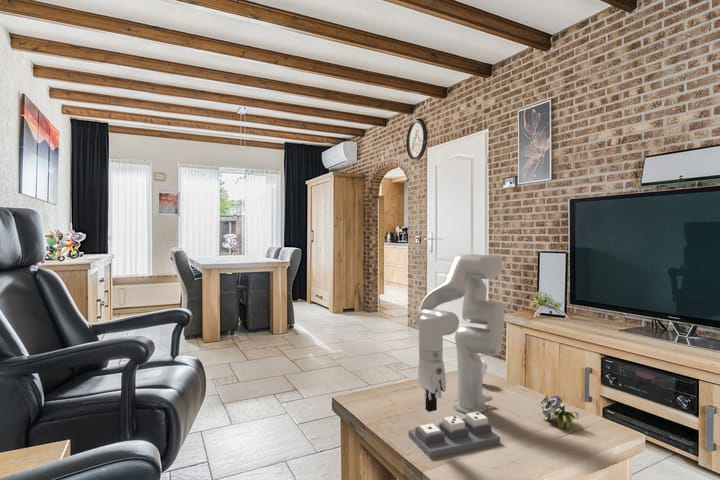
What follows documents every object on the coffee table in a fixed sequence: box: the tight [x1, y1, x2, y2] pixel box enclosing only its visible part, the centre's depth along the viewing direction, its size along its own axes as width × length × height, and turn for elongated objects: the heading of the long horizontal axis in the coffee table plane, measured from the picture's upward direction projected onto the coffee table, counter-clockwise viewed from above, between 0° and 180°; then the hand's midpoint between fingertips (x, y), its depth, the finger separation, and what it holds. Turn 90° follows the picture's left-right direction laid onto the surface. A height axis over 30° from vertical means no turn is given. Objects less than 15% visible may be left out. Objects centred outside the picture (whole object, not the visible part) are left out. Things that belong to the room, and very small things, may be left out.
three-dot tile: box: [442, 415, 465, 431], centre depth 130 cm, size 5×5×3 cm
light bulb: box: [481, 358, 488, 384], centre depth 180 cm, size 7×7×11 cm
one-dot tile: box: [418, 422, 441, 436], centre depth 127 cm, size 5×5×3 cm
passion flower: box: [540, 394, 579, 430], centre depth 143 cm, size 11×11×12 cm
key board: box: [408, 417, 501, 459], centre depth 130 cm, size 26×14×4 cm, turn 110°
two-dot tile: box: [465, 412, 489, 427], centre depth 133 cm, size 5×5×3 cm
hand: (431, 410), depth 127 cm, fingers closed
